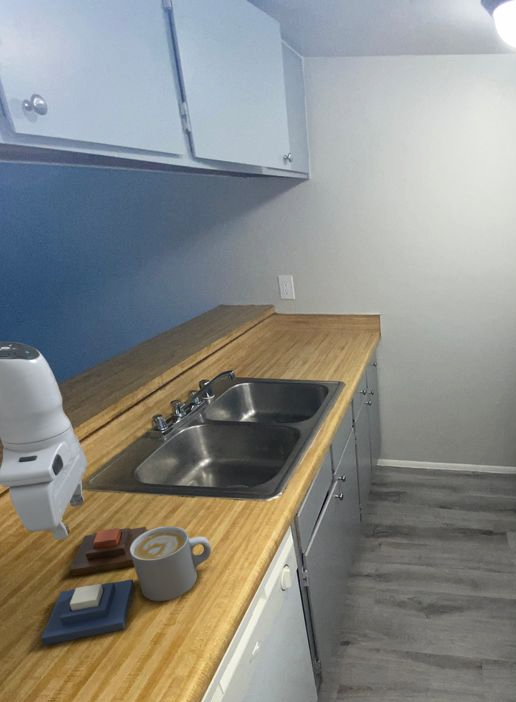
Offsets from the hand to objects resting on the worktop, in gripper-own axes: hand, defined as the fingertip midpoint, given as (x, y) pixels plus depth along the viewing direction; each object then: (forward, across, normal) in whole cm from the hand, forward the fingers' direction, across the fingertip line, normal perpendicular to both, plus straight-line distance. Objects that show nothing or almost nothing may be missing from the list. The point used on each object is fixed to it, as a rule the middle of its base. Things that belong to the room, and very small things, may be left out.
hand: (70, 519), depth 80 cm
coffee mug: (+19, -2, +13) cm, 24 cm away
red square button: (+16, -14, -1) cm, 21 cm away
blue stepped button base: (+19, +3, -1) cm, 19 cm away
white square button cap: (+16, +3, -1) cm, 16 cm away
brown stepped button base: (+19, -14, -1) cm, 24 cm away
